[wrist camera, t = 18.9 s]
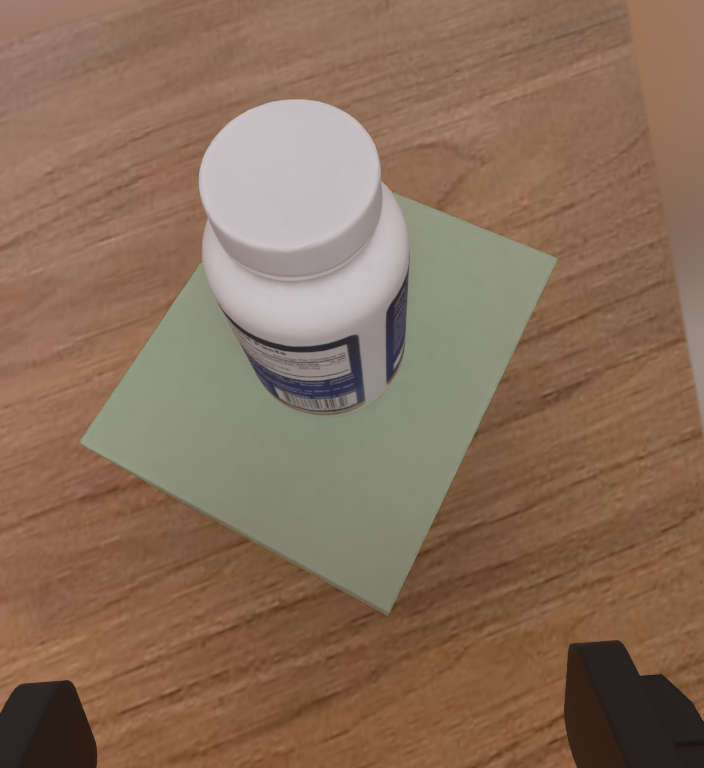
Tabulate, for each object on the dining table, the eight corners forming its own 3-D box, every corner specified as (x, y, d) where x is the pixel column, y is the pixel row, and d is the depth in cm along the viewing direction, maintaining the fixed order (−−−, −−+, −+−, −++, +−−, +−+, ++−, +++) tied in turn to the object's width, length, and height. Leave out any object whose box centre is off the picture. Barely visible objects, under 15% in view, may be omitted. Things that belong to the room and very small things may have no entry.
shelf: (509, 360, 33) (558, 257, 24) (387, 616, 29) (389, 613, 20) (306, 270, 36) (279, 145, 26) (168, 495, 32) (77, 442, 22)
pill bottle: (335, 256, 24) (305, 34, 15) (435, 352, 23) (469, 170, 14) (222, 345, 23) (116, 165, 14) (319, 453, 22) (271, 329, 12)
